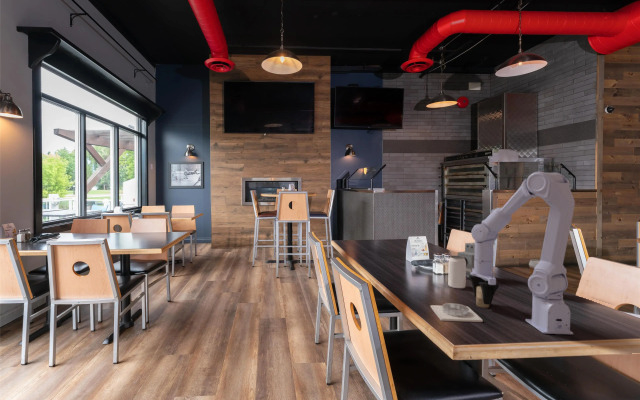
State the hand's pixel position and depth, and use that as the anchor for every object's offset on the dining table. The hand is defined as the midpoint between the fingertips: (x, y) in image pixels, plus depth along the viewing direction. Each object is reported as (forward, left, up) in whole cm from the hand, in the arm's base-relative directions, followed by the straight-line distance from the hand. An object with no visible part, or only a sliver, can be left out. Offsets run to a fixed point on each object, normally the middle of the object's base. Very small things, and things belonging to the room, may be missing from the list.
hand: (482, 300), depth 117 cm
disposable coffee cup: (+17, -29, -2) cm, 34 cm away
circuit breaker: (+38, -11, -2) cm, 40 cm away
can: (+23, +1, -2) cm, 23 cm away
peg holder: (-9, +12, -2) cm, 15 cm away
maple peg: (0, 0, -2) cm, 2 cm away
